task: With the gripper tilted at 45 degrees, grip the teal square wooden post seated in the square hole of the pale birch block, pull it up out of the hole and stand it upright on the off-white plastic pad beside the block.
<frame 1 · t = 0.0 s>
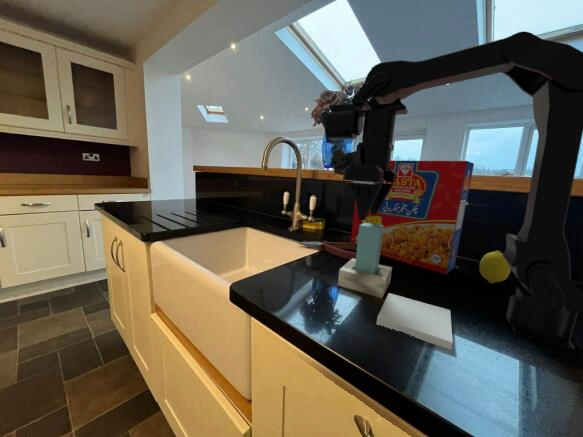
hand: (367, 217, 51), 15 cm above the worktop, tool pointing down, fingers open, 9 cm apart
pasta box: (397, 256, 74), on the worktop
lemon: (490, 284, 58), on the worktop
socket block: (364, 283, 53), on the worktop
post: (368, 255, 52), in the socket block
pliers: (334, 251, 77), on the worktop
pad: (414, 320, 40), on the worktop
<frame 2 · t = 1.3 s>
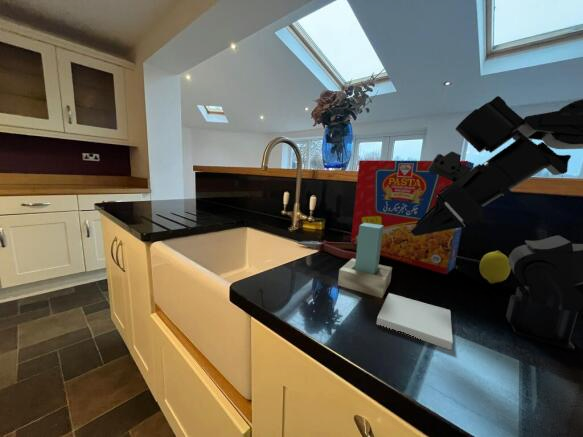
hand: (415, 229, 47), 13 cm above the worktop, tool tilted 45°, fingers open, 9 cm apart
nothing on the worktop moved.
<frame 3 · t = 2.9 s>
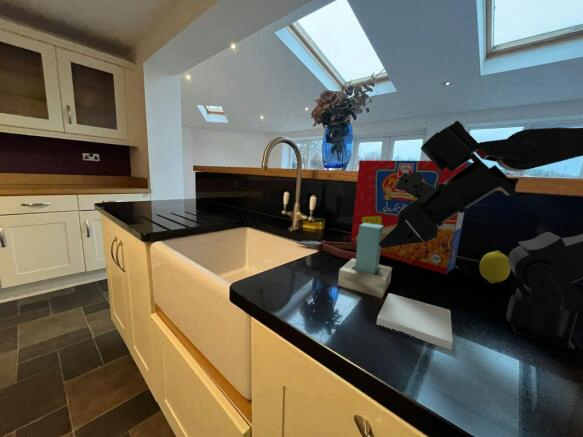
hand: (384, 240, 50), 10 cm above the worktop, tool tilted 45°, fingers open, 9 cm apart
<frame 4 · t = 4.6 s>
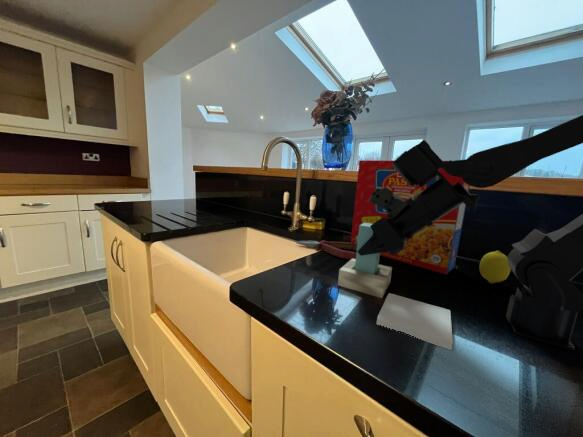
hand: (361, 251, 53), 7 cm above the worktop, tool tilted 45°, fingers closed on post, 4 cm apart
post: (368, 255, 52), in the socket block, touching gripper
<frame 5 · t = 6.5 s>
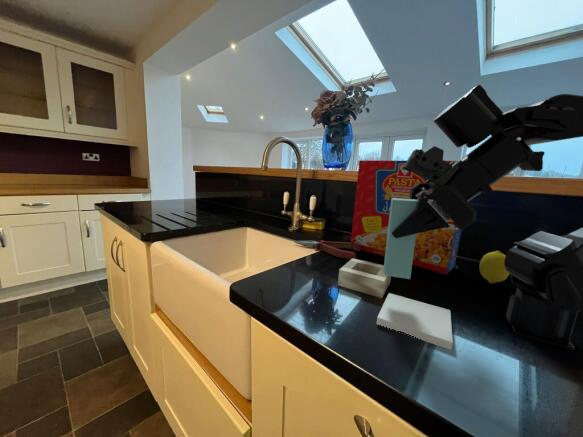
hand: (392, 233, 42), 14 cm above the worktop, tool tilted 45°, fingers closed on post, 4 cm apart
post: (400, 237, 42), point 13 cm above the worktop, touching gripper
when the fingers open (9 cm above the worktop, at t = 8.2 s): post stays where it is, resting on pad.
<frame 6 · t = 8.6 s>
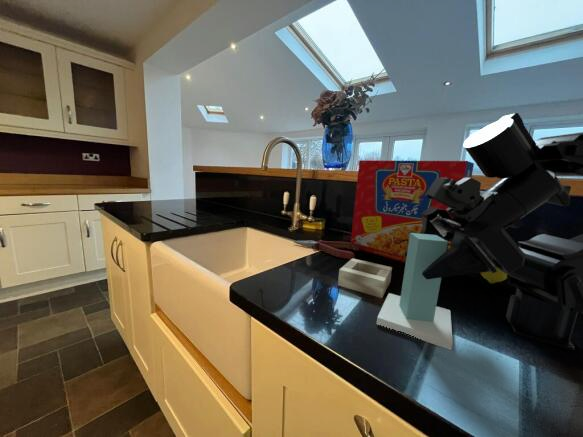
hand: (413, 265, 39), 9 cm above the worktop, tool tilted 45°, fingers open, 8 cm apart
post: (421, 276, 39), on the pad, point 8 cm above the worktop
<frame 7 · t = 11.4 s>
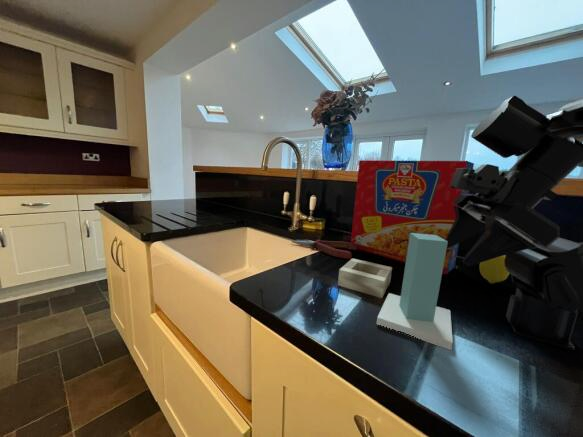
hand: (454, 254, 41), 11 cm above the worktop, tool tilted 30°, fingers open, 9 cm apart
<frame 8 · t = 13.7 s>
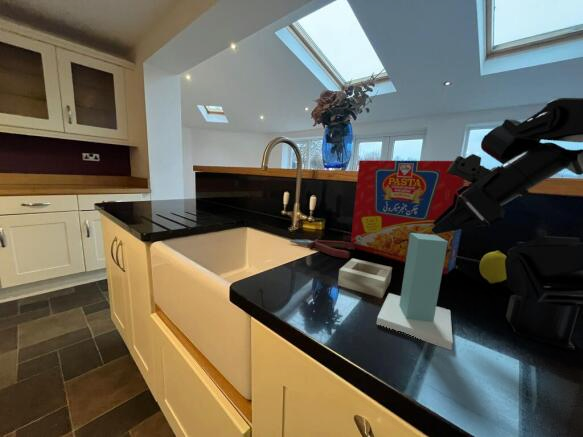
hand: (433, 227, 49), 14 cm above the worktop, tool tilted 45°, fingers open, 9 cm apart
at the end: post inside the target area on the pad (0.0 cm from its centre), point 7.7 cm above the pad's base; post tilted 0°; post touching pad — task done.
